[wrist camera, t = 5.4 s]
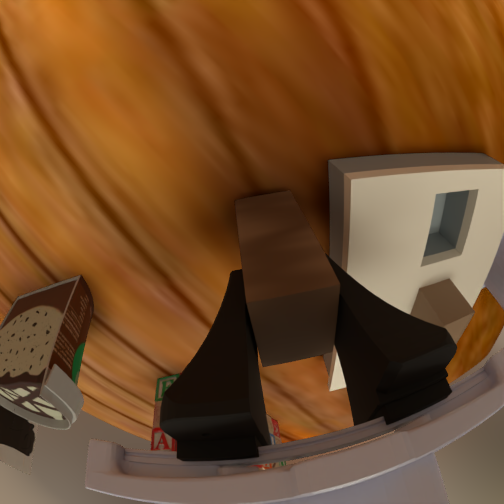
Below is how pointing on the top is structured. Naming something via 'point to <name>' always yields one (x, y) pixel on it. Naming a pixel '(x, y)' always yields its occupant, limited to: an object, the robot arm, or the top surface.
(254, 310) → the walnut key
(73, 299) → the food container
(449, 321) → the lid
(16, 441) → the cup
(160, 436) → the stack of blocks
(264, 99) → the top surface
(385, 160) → the shallow tray
